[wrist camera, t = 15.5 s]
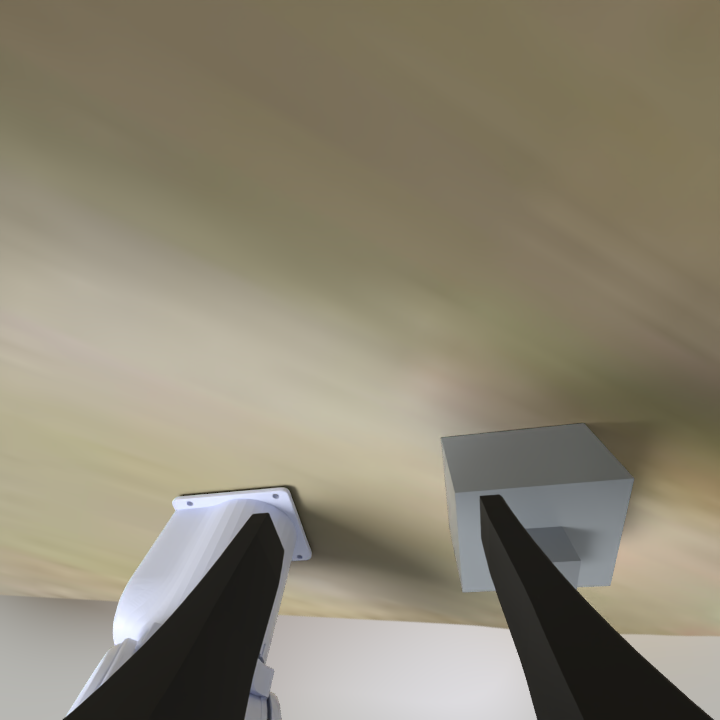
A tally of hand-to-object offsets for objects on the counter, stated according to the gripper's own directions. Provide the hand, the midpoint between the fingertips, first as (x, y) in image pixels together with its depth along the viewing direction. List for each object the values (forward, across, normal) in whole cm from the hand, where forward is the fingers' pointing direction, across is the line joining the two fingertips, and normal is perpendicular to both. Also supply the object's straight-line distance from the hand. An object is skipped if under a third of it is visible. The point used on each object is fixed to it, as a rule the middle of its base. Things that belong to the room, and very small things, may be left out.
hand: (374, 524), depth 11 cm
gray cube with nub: (+10, -8, +10) cm, 16 cm away
